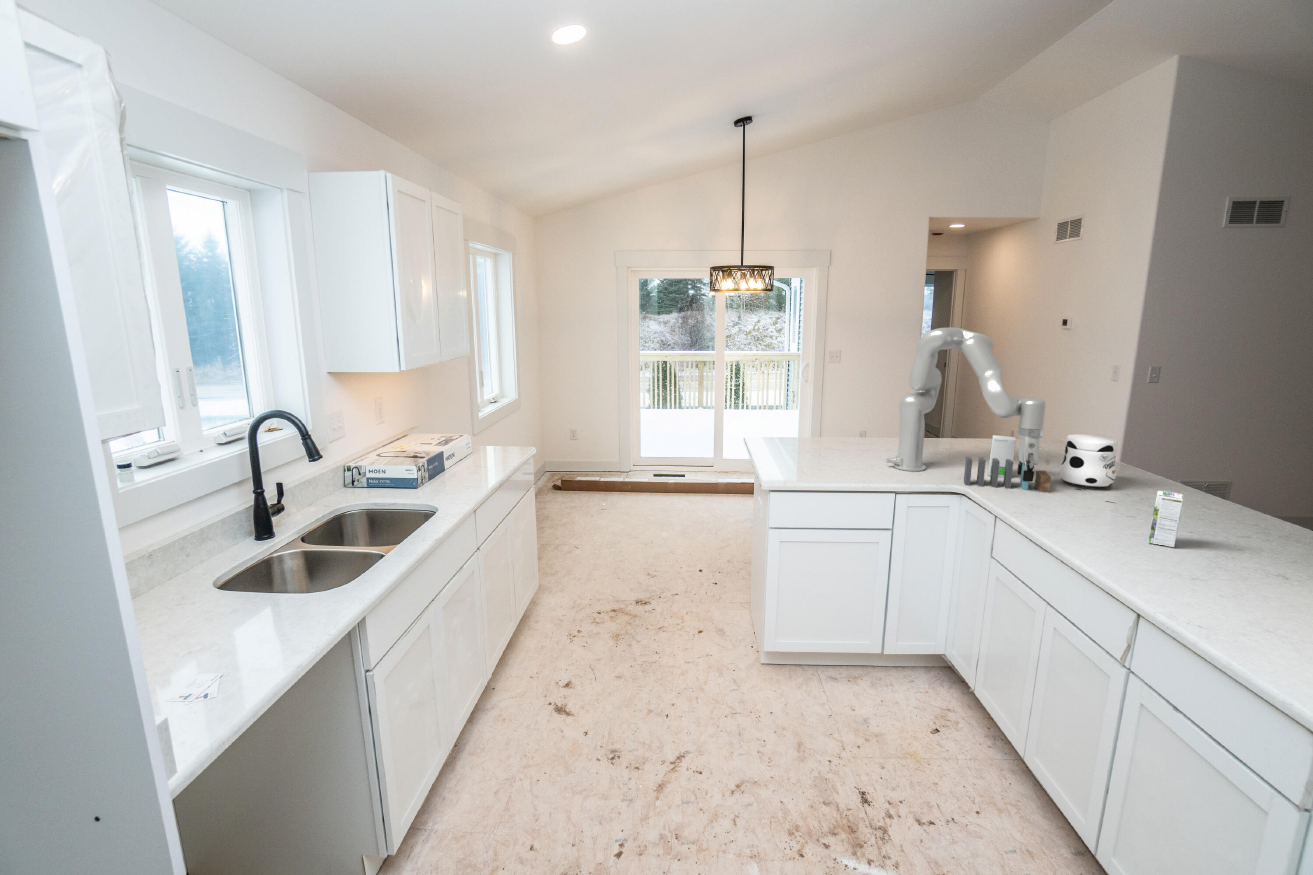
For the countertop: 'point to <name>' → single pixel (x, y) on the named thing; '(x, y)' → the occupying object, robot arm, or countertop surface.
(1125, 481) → the countertop surface
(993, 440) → the skincare box
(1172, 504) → the syrup box
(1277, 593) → the countertop surface
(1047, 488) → the bookend
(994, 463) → the tile
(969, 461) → the tile
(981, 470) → the tile
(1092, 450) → the spotted treat jar
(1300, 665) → the countertop surface
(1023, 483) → the domino
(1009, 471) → the tile
